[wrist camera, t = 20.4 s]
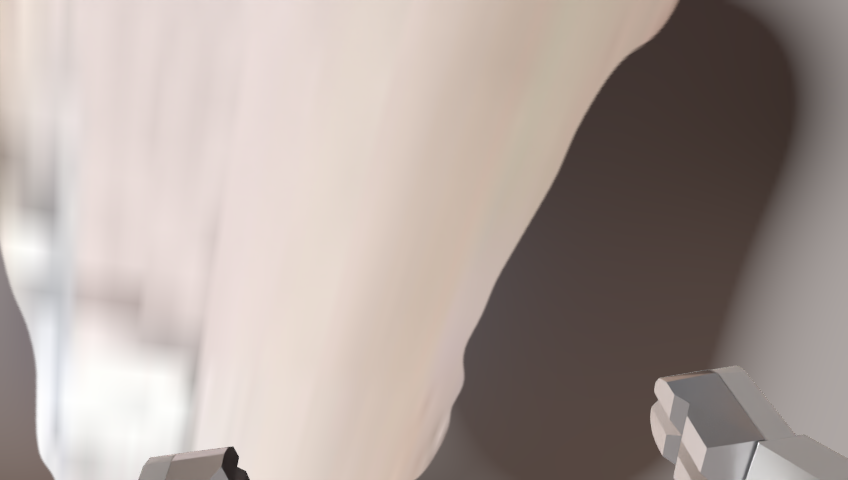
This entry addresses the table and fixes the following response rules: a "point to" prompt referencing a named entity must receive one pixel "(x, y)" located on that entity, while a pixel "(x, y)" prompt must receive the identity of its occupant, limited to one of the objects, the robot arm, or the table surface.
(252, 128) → the table surface
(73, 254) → the table surface
